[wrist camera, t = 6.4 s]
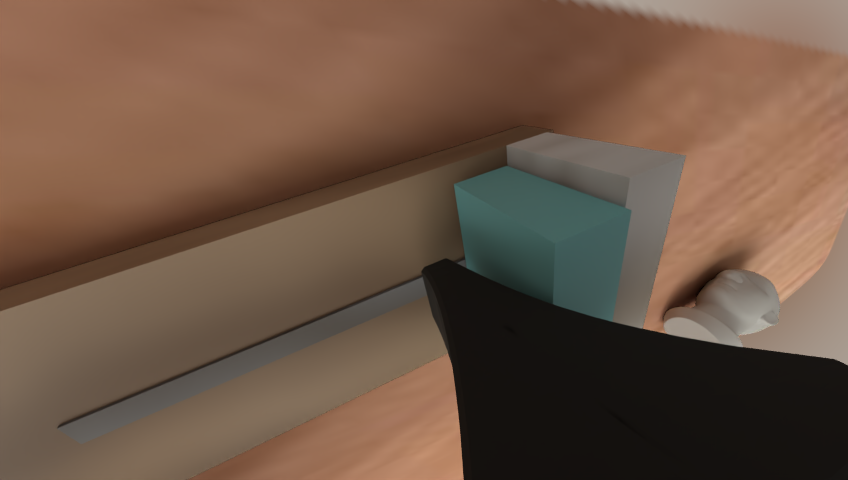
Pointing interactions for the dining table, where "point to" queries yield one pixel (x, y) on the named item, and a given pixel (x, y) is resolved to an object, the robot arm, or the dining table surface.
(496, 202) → the sliding jaw
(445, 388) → the dining table surface
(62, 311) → the clamp board
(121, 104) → the dining table surface
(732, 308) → the pale two-lobed sculpture
